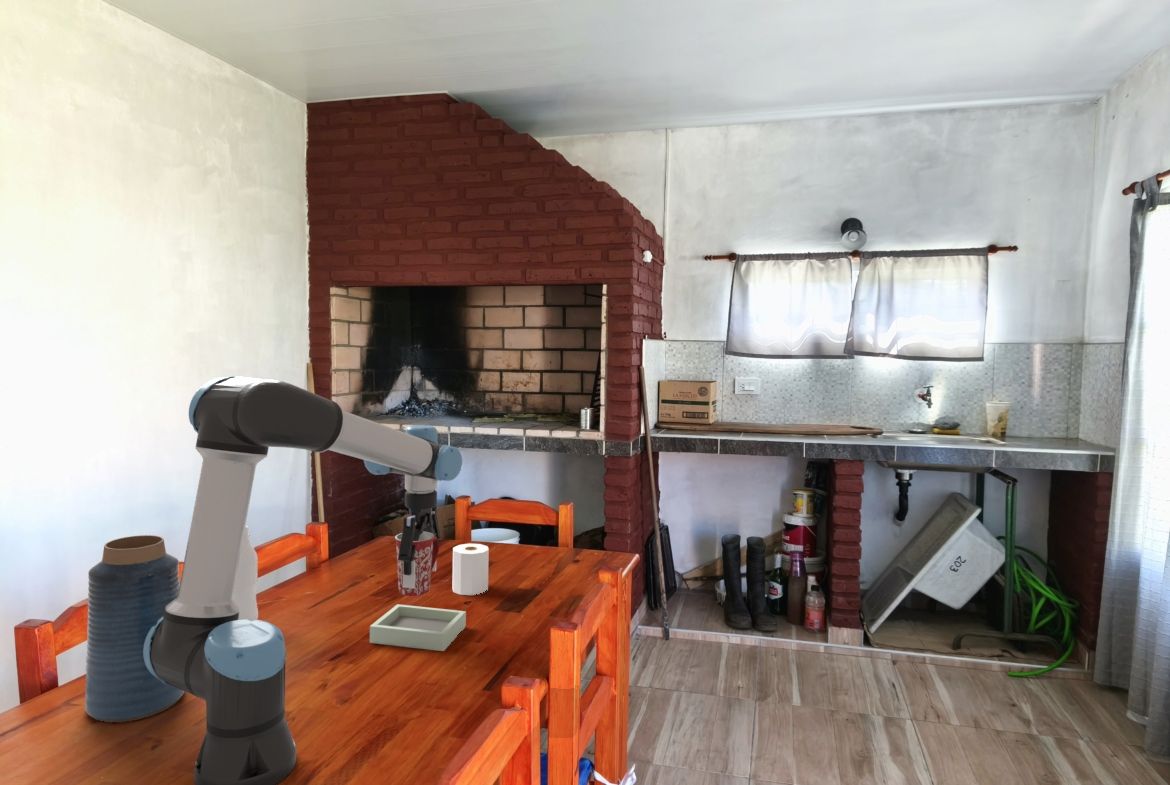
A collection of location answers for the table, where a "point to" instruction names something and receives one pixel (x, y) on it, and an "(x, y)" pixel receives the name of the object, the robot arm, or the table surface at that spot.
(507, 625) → the table surface
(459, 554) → the toilet paper
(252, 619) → the water bottle
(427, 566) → the mug
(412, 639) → the tray
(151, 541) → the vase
